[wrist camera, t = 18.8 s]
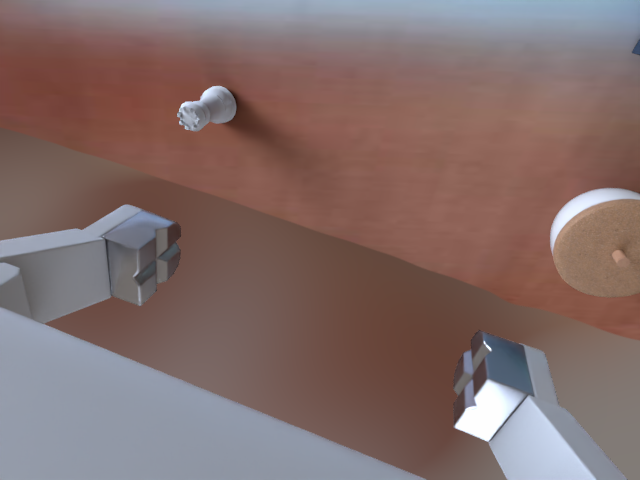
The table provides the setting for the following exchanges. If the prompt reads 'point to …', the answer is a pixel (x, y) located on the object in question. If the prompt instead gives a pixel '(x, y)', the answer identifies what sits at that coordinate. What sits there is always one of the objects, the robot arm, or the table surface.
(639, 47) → the blue box
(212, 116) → the rook chess piece
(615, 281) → the trinket box
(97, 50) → the table surface
